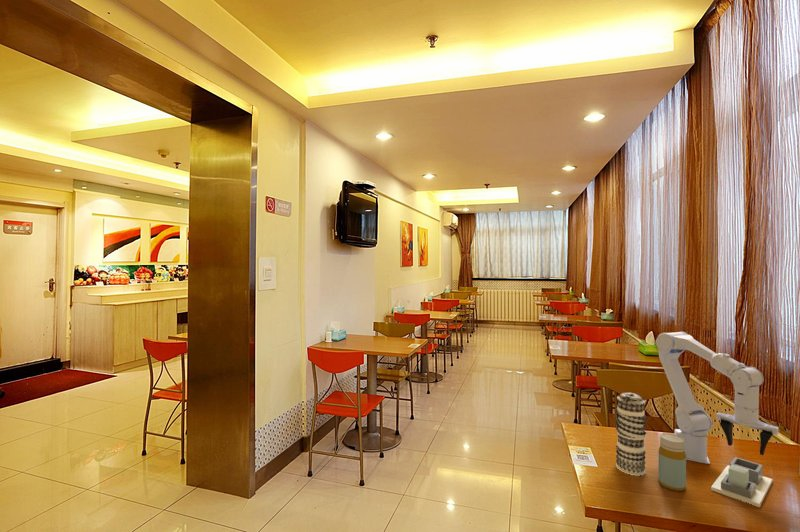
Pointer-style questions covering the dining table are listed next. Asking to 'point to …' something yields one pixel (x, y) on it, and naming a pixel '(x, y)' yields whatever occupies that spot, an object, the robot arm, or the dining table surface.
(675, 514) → the dining table surface
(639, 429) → the decorative candle
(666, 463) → the bottle
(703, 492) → the dining table surface
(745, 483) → the plug
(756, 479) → the board with square sockets
